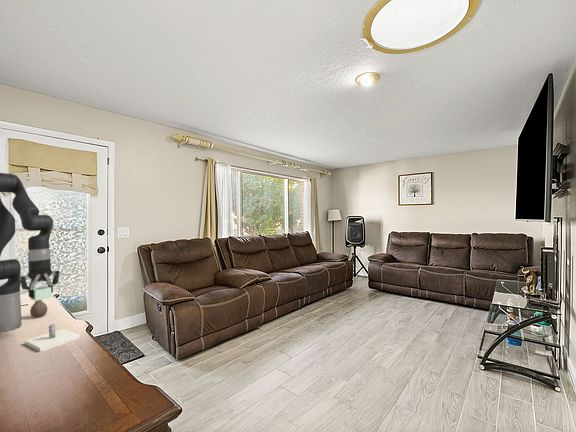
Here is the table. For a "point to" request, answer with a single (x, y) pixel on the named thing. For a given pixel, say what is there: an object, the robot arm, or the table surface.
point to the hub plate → (51, 339)
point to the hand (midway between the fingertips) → (41, 296)
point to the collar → (42, 293)
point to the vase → (38, 309)
